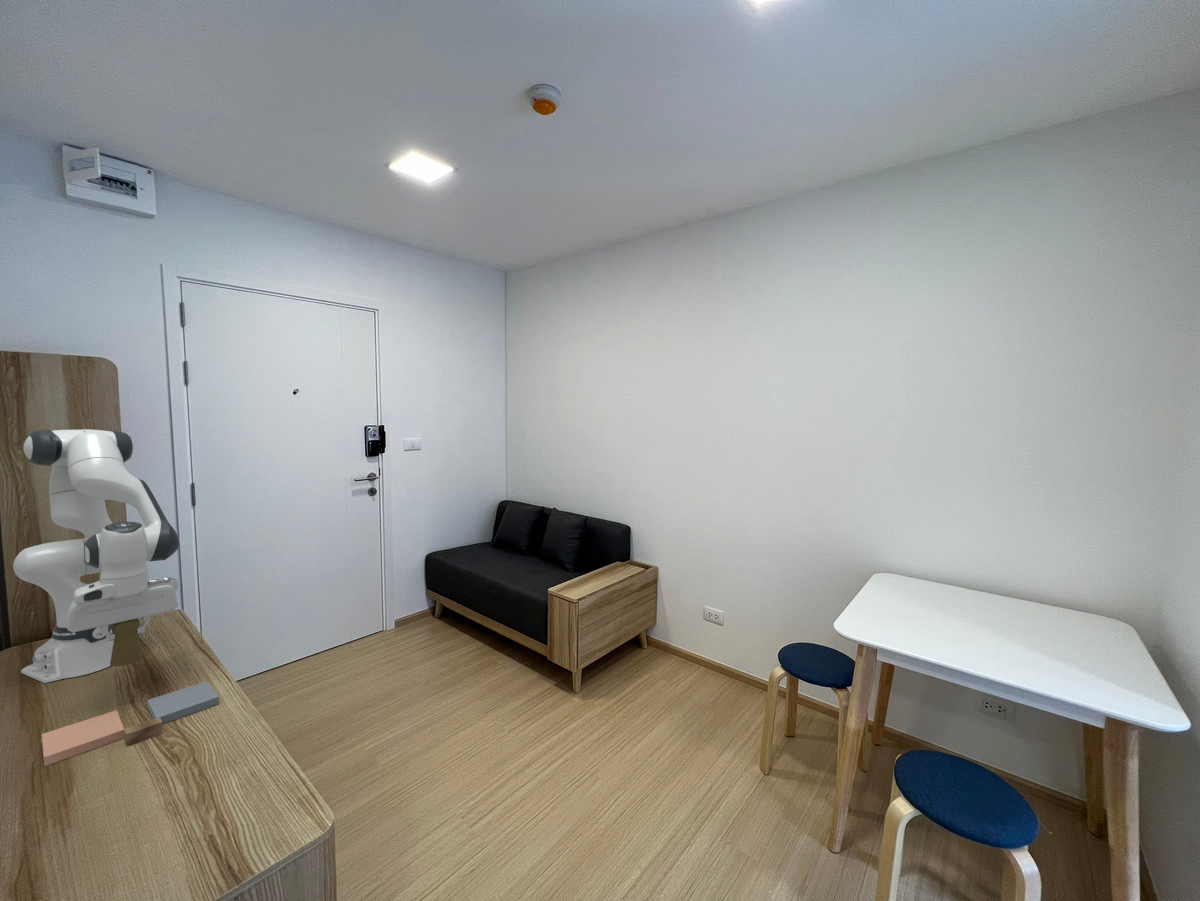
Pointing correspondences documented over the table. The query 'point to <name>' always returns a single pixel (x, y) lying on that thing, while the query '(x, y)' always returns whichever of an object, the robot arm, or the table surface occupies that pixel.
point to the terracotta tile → (81, 737)
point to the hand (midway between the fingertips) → (125, 636)
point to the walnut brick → (143, 731)
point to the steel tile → (183, 702)
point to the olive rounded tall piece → (126, 643)
